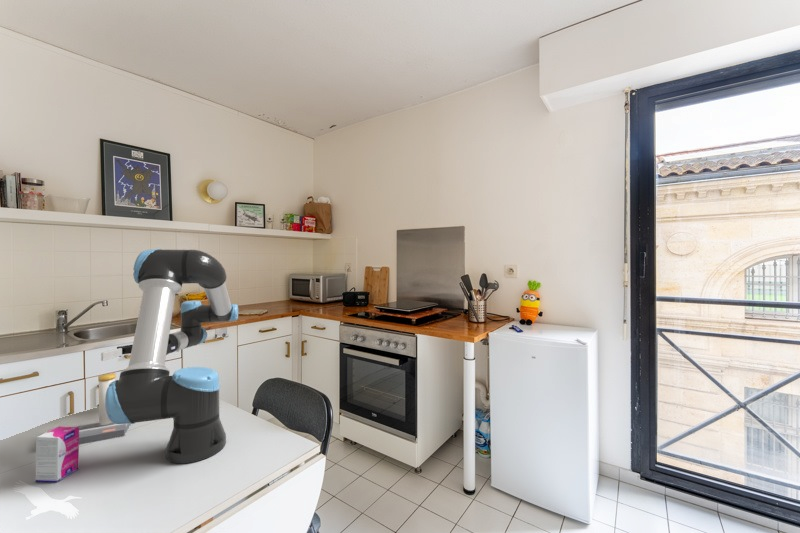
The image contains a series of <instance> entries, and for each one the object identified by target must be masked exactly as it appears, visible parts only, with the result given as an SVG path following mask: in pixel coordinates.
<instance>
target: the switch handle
mask: <svg viewBox="0 0 800 533" xmlns="http://www.w3.org/2000/svg"><path fill="white" fill-rule="evenodd" d="M97 378H98V380H97V381H98V421H99V425H98V427H102V426H108V425H113V424H115V423H113V422H112V421H111V420H110V419H109V417H108V415H107V412H106V406H105V397H106V391H107V388H108V387H109V384H110V383H111V382H113V381H115V380H116V373H114V372H110V373H103V374H101V375H99V376H97Z"/></svg>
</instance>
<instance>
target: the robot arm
mask: <svg viewBox="0 0 800 533" xmlns="http://www.w3.org/2000/svg"><path fill="white" fill-rule="evenodd" d="M133 279H134V281H135V283H136V284H137V285H138V288H139V289H140V290H141V291H142V295H141V301H140V306H139V311H138V312H139V313H138V317H137V321H136V322H137V323H136V327H135V331H134V335H133V336H134V338H133V341H132V342H133V343H132V344H127V345H121V346H119V345H118V346H117V347H116V348H115V349H112V350H107V351H104V352H100V353H101V354H100V356H101V358H100V359H101V361H102V362H103V361H106V360H110V359H114V358H117V357H119V358H121V357H122V356H123V355H129V354H130V357H129V362H128V366H127V367H126V368H124V369H123V370H121V371H120V373H119V379H115V381H113V382H111V383H110V384H109V387H108V388H107V391H106V397H105V406H106V412H107V415H108V417H109V419H110V420H111V421H112V422H113V423H115V424H128V423H130V424H132V425H134V424H136V423H142V422H150V421H158V420H159V421H160V420H166V419H173V429H172V431H171V433H170V436H169V439H168V442H167V446H166V448H165V449H166V452H165V453H166V455H165V456H166V459H167V461H169V462H171V463H174V464H191V463H195V462H200V461H203V460H205V459H207V458H210V457H212V456H214V455H216V454H218V453H219V452H221V451H222V450H223V449H224V448H225V446H226V444H227V435H226V434H227V433H226V432H225V428H224V427H223V424H222V422H221V418H220V388H221V385H220V376H219V373H218V372H217V371H216V370H215V369H213V368H211V367H204V366H189V367H182V368H179V369H177V370H175V371H174V372H173V374H172V375H170V373H171V372H170V369H169V368H168V367H167V366H166V365H165V364H166V357H167V355H169V354H172V353H175V352H177V353H178V352H180V351H181V350H184V349H186V348H187V349H188V348H191V347H195V346H197V345H201V344H202V343H204V342H206V340H207V337H208V332H207V330H206V328H205V327H203V326H202V324H203V323H227V322H235V321H237V320H238V319H239V305H238V304H234V303H232V302H231V299H230V295H229V291H228V288H227V284H226V281H227V274H226V269H225V268H224V266H223V265H222V263H220V261H219V260H218V259H216V258H215V257H214V256H212V255H211V254H209V253H207V252H204V251H202V250H197V249H162V248H156V249H155V248H154V249H145V250H143V251H141V252H140V253H139V254H138V255H137V257H136V259H135V261H134V264H133ZM183 284H198V285H199V286H200V287H201V288H203V290H204V293H205V295H206V299H207V300H208V302H209V304H202V302H201V300H186V301H183V302H182V303H181V304H180V331H176V332H172V333H170V331H171V324H172V319H173V313H174V312H173V311H174V304H175V297H176V294H178V293H179V292H181V291H182V287H183Z"/></svg>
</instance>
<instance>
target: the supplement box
mask: <svg viewBox="0 0 800 533" xmlns="http://www.w3.org/2000/svg"><path fill="white" fill-rule="evenodd" d="M52 429H53V430H51V431H49V432H47V431H46V432H45V433H42V434H41V435H38V436H36V439H35V447H36V448H35V480H34V482H35V483H49V484H51V483H53V484H55V483H58V482H60V481H62V479H65V478H66V477H68V476H69V475H71V474H72V473H74V472H76V471H78V470H79V468H80V466H79V459H80V458H79V456H80V454H79V453H80V452H79V451H80V450H79V449H80V444H79V427H68V426H57V427H55V428H52Z"/></svg>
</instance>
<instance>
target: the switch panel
mask: <svg viewBox="0 0 800 533" xmlns="http://www.w3.org/2000/svg"><path fill="white" fill-rule="evenodd" d="M98 425H99V420H98V421H93V422H88V423H87V422H86V423H80V424H76V425H69V426H67V427H79V445H82V444H88V443H93V442H98V441H99V442H100V441H105V440H109V439H115V437H116V438H120V436H121V437H125V436H126V434H127V432H128V431H129V429H130V427H129V426H131V424H130V423H128V424H113V425H108V426H102V427H98ZM53 429H54V428H52V429H51V428H50V429H49V430H47V431H46V432H49V431H51V430H53ZM125 433H126V434H125Z"/></svg>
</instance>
